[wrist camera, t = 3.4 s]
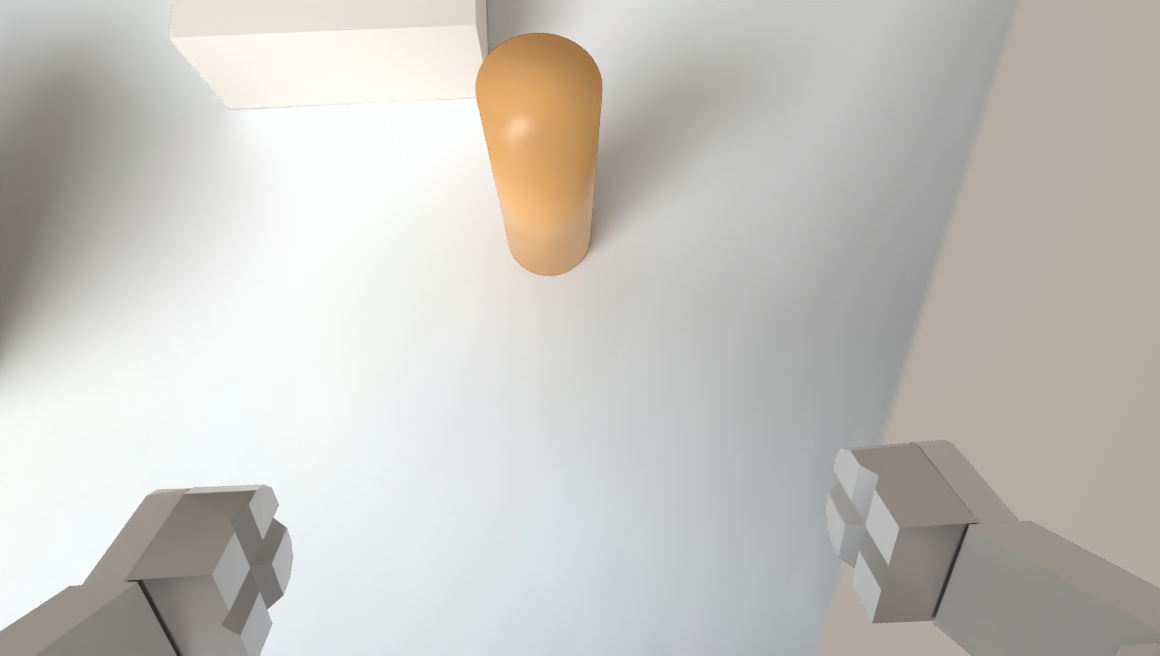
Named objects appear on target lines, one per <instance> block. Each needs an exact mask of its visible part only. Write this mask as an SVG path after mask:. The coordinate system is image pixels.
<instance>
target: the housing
mask: <svg viewBox="0 0 1160 656" xmlns="http://www.w3.org/2000/svg"><path fill="white" fill-rule="evenodd" d="M168 38H169V39H170V40H171V42H172V43H173V44H174V45H175V46H176V48H177V49H178V50H179V51H180V52H181V53H182V55H183V56H184V57H185V58H186V59H187V61H188V62H189V63H190V64H191V65H192V66H193V68H194V69H195V70H196V71H197V72H198V74H199V75H200V76H201V77H202V78H203V79H204V81H205V82H206V83H207V84H208V85H209V86H210V88H211V89H212V90H213V91H214V92H215V94H216V95H217V96H218V97H219V98H220V99H221V101H222V102H223V103H224V104H225V105H226V107H227V108H228V109H246V108H267V107H289V106H311V105H332V104H354V103H375V102H397V101H419V100H440V99H462V98H476V92H475V85H476V78H477V74H478V71H479V68H480V67H481V65H482V63H483V61H484V60H485V58H486V57H487V56H488V38H487V10H486V0H173V1H172V9H171V18H170V27H169V36H168Z"/></svg>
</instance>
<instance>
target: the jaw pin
mask: <svg viewBox="0 0 1160 656" xmlns="http://www.w3.org/2000/svg"><path fill="white" fill-rule="evenodd" d="M475 92H476V99H477V103H478V108H479V112H480V117H481V121H482V126H483V130H484V135H485V140H486V144H487V149H488V153H489V158H490V162H491V167H492V171H493V176H494V180H495V185H496V189H497V194H498V198H499V203H500V207H501V212H502V216H503V221H504V225H505V230H506V234H507V239H508V243H509V247H510V250H511V253H512V255H513V257H514V258H515V260H516V261H517V262H518V263H519V264H520V265H521V266H522V267H524V268H525V269H526V270H528V271H530V272H532V273H535V274H538V275H544V276H554V275H559V274H563V273H566V272H568V271H570V270H572V269H573V268H574V267H576V266H577V265H578V264H579V263H580V262H581V261H582V260H583V258H584V257H585V255H586V253H587V251H588V247H589V243H590V232H591V221H592V209H593V197H594V185H595V173H596V161H597V149H598V137H599V125H600V113H601V102H602V79H601V75H600V72H599V69H598V67H597V65H596V63H595V61H594V60H593V58H592V57H591V56H590V55H589V54H588V52H587V51H585V50H584V49H583V48H582V47H581V46H579V45H578V44H576V43H575V42H573V41H571V40H569V39H567V38H564V37H561V36H558V35H554V34H548V33H530V34H524V35H520V36H517V37H514V38H511V39H509V40H507V41H505V42H503V43H502V44H500V45H499V46H497V47H496V48H495V49H494V50H492V51H491V53H490V54H489V55H488V56H487V57H486V58H485V60H484V61H483V63H482V65H481V67H480V68H479V71H478V74H477V78H476V85H475Z"/></svg>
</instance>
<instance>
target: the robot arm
mask: <svg viewBox="0 0 1160 656" xmlns="http://www.w3.org/2000/svg"><path fill="white" fill-rule="evenodd" d="M833 470H834V472H835V474H836V475H837V477H838V479H839V482H838V483H837V484H836V485H835V486H834V487H833V488H832V489H831V490H830V491H829V492H828V496H827V503H826V509H825V511H826V522H827V529H828V533H829V536H830V539H831V543H832V545H833V547H834V549H835V551H836V553H837V555H838V557H839V558H841V559H842V560H844V561H845V562H846V563H848V564H849V565H851V566H852V567H853V568H855V569H854V573H853V577H852V582H851V583H852V585H853V587H854V589H855V591H856V593H857V595H858V597H859V599H860V601H861V603H862V605H863V607H864V609H865V610H866V613H867V615H868V617H869V618H870V620H871V622H872V623H889V622H890V623H892V622H912V621H934V623H933V624H934V625H935V626H937V627H938V628H939V629H941V630H942V631H943V632H944V633H945V634H946V635H947V636H949V637H950V638H951V639H952V640H953V641H955V642H956V643H957V644H958V645H959V646H961V647H962V648H963V649H964V650H965V651H967V652H968V653H969V654H970V655H971V656H1160V588H1158V587H1156V586H1154V585H1153V584H1151V583H1149V582H1147V581H1145V580H1143V579H1141V578H1139V577H1137V576H1135V575H1133V574H1131V573H1130V572H1128V571H1126V570H1124V569H1122V568H1120V567H1118V566H1116V565H1114V564H1112V563H1110V562H1109V561H1106V560H1105V559H1103V558H1101V557H1099V556H1097V555H1095V554H1093V553H1091V552H1089V551H1087V550H1086V549H1083V548H1082V547H1080V546H1078V545H1076V544H1074V543H1072V542H1070V541H1068V540H1066V539H1065V538H1062V537H1061V536H1059V535H1057V534H1055V533H1053V532H1051V531H1049V530H1047V529H1045V528H1043V527H1041V526H1039V525H1038V524H1036V523H1034V522H1032V521H1019V520H1018V519H1017V518H1016V517H1015V516H1014V514H1013V513H1012V512H1011V511H1010V510H1009V509H1008V507H1007V506H1006V505H1005V504H1004V503H1003V502H1002V500H1001V499H1000V498H999V497H998V496H997V495H996V493H995V492H994V491H993V490H992V489H991V488H990V486H989V485H988V484H987V483H986V482H985V481H984V480H983V478H982V477H981V476H980V475H979V474H978V472H977V471H976V470H975V469H974V468H973V467H972V466H971V464H970V463H969V462H968V461H967V460H966V459H965V457H964V456H963V455H962V454H961V453H960V451H959V450H958V449H957V448H956V447H955V446H954V445H953V444H951V443H950V442H948V441H946V440H936V441H923V442H911V443H909V444H890V445H876V446H862V447H848V448H841V449H840V450H839V452H838V453H837V455H836V458H835V462H834V467H833ZM278 506H279V504H278V502H277V499H276V497H275V494H274V492H273V489H272V488H271V487H269V486H266V485H244V486H219V487H195V488H192V489H162V490H156V491H154V492H153V493H151V494H149V495H147V496H146V497H145V499H144V500H143V501H142V503H141V504H140V505H139V507H138V508H137V510H136V511H135V512H134V514H133V515H132V516H131V518H130V519H129V521H128V522H127V523H126V525H125V526H124V528H123V529H122V530H121V532H120V533H119V534H118V536H117V537H116V539H115V540H114V541H113V543H112V544H111V546H110V547H109V548H108V550H107V551H106V552H105V554H104V555H103V557H102V558H101V559H100V561H99V562H98V563H97V565H96V566H95V568H94V569H93V570H92V572H91V573H90V575H89V576H88V577H87V579H86V580H85V581H84V583H83V584H82V585H78V586H69V587H68V588H66V589H64V590H63V591H61V592H60V593H58V594H57V595H55V596H54V597H52V598H51V599H49V600H48V601H46V602H45V603H43V604H42V605H40V606H39V607H37V608H35V609H34V610H32V611H31V612H29V613H28V614H26V615H25V616H23V617H22V618H20V619H19V620H17V621H16V622H14V623H13V624H11V625H10V626H8V627H7V628H5V629H3V630H2V631H0V656H260V653H261V651H262V648H263V646H264V643H265V641H266V638H267V636H268V633H269V631H270V628H271V626H272V621H271V619H270V616H269V614H268V611H267V609H268V608H270V607H271V606H272V605H273V604H274V603H275V602H276V601H278V600H279V599H280V598H281V597H282V596H283V595H284V593H285V590H286V587H287V584H288V582H289V579H290V574H291V567H292V559H293V553H292V544H291V539H290V536H289V533H288V530H287V528H286V527H285V526H284V525H282V524H281V523H279V522H278V521H277V520H275V519H274V518H273V517H274V515H275V512H276V510H277V508H278Z"/></svg>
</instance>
